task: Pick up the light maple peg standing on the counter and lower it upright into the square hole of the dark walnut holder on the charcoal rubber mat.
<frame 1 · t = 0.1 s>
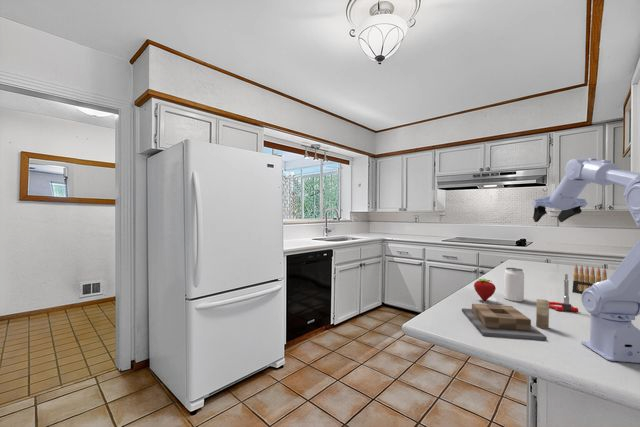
hand: (547, 219, 100), 32 cm above the counter, tool tilted 50°, fingers open, 7 cm apart
holder: (498, 323, 91), on the counter
can: (513, 300, 116), on the counter
ammunition clip: (589, 295, 123), on the counter
strawberry: (484, 301, 114), on the counter
peg: (542, 327, 89), on the counter
tow hook: (559, 308, 107), on the counter
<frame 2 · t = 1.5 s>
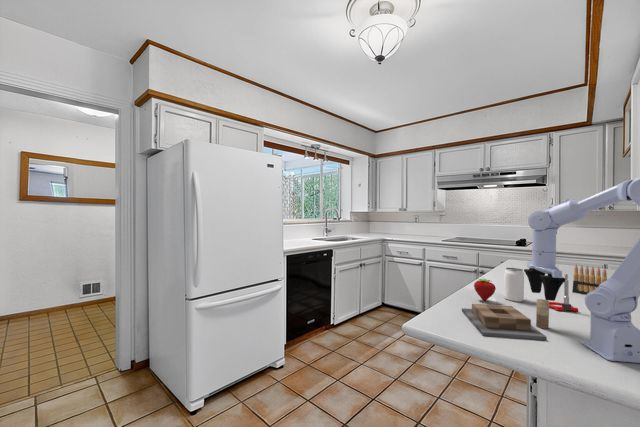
hand: (542, 296, 89), 9 cm above the counter, tool pointing down, fingers open, 7 cm apart
nothing on the counter moved.
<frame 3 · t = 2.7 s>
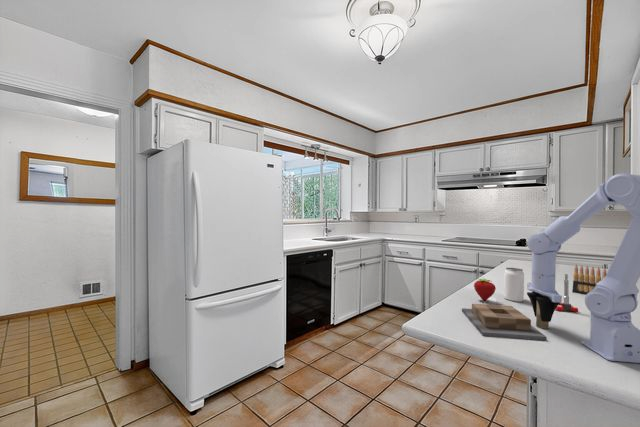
hand: (542, 319, 89), 2 cm above the counter, tool pointing down, fingers closed on peg, 3 cm apart
peg: (542, 327, 89), on the counter, touching gripper
everything else where it was.
when the fingers open (5 cm above the counter, at t = 6.1 s): peg drops 1 cm, resting on holder.
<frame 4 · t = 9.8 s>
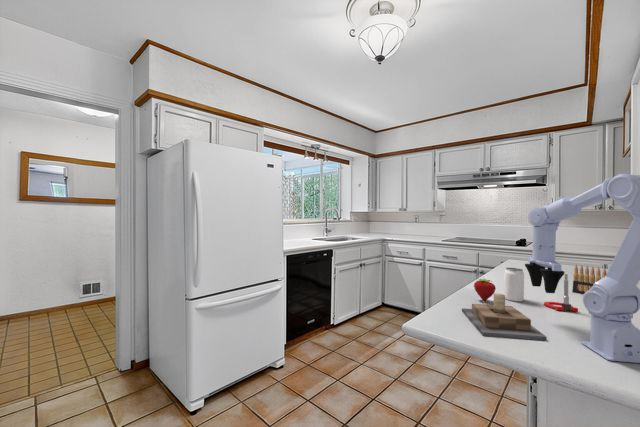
hand: (542, 289, 92), 10 cm above the counter, tool pointing down, fingers open, 7 cm apart
peg: (499, 320, 91), point 1 cm above the counter, touching holder
everything else where it was.
at the end: peg 0.0 cm off-centre on the holder, point 1.0 cm above the holder's base; peg tilted 0°; the gripper is holding nothing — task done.
